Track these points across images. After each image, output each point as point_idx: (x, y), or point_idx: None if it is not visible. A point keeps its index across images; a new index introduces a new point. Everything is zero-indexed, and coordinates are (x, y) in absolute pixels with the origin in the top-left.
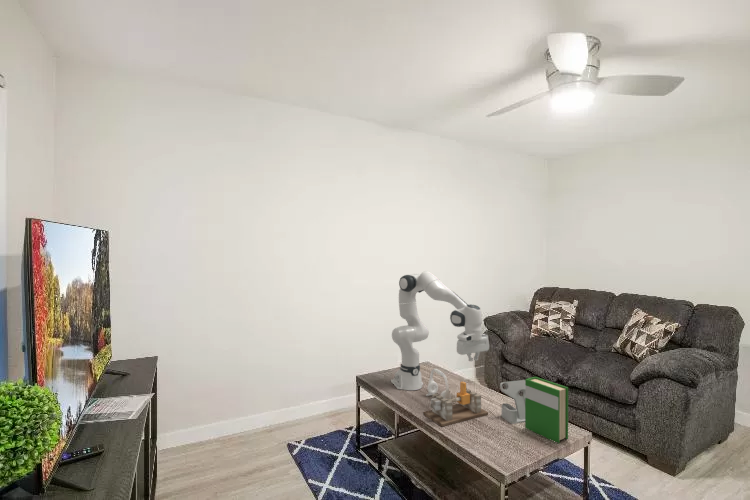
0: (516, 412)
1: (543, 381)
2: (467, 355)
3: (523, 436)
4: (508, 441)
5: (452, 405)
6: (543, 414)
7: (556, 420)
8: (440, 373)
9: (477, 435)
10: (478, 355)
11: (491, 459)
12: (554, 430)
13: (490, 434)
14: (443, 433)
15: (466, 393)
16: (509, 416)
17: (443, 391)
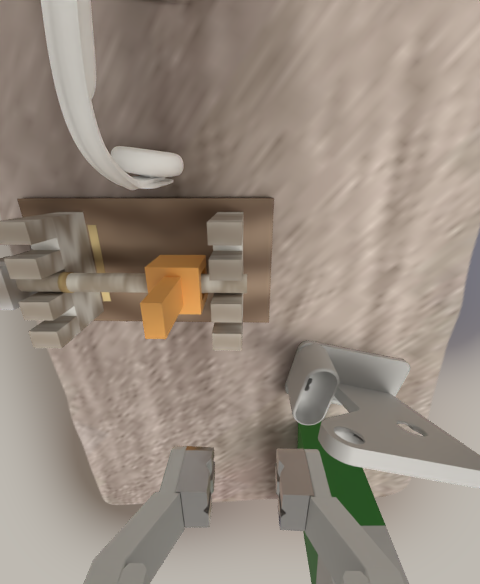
0: (310, 419)
1: None
2: (112, 545)
3: (252, 444)
4: (197, 443)
5: (176, 203)
6: None
7: (307, 554)
8: (53, 49)
9: (140, 394)
10: (337, 570)
11: (107, 470)
12: None
13: (178, 405)
14: None
15: (190, 299)
16: (289, 397)
17: (119, 158)
